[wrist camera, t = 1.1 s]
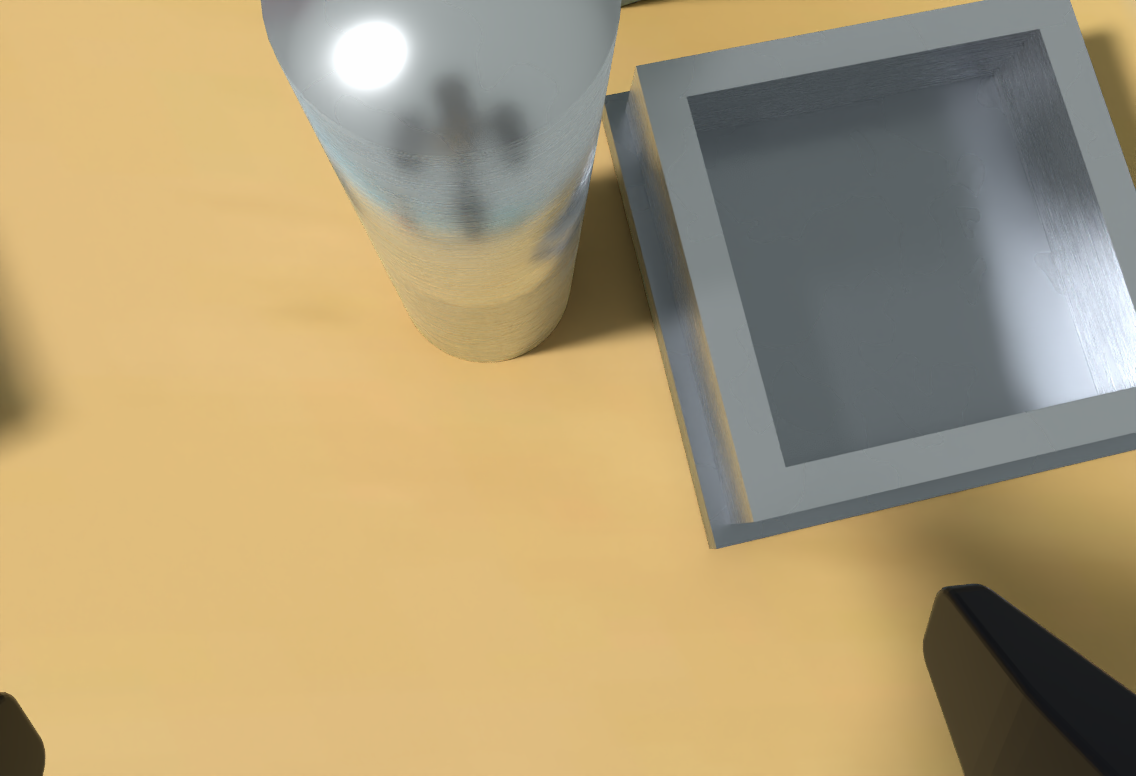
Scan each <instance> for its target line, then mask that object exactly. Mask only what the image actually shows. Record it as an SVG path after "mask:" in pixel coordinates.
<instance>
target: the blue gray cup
mask: <svg viewBox="0 0 1136 776" xmlns="http://www.w3.org/2000/svg"><path fill="white" fill-rule="evenodd" d="M637 1H641V0H621V6H624V5H627V4H631V3H634V2H637Z"/></svg>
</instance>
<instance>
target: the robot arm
mask: <svg viewBox="0 0 1136 776" xmlns="http://www.w3.org/2000/svg"><path fill="white" fill-rule="evenodd" d="M923 653H924V659H925V663H926V666H927V669H928V672H929V675H930V677H931V680H932V683H933V686H934V689H935V692H936V695H937V698H938V701H939V703H940V706H941V709H942V712H943V715H944V718H945V721H946V724H947V727H948V729H949V732H950V735H951V738H952V741H953V744H954V747H955V750H956V753H957V755H958V758H959V761H960V764H961V767H962V770H963V773H964V776H1136V694H1135V693H1133V692H1132V691H1131V690H1129V689H1128V688H1126V687H1125V686H1124V685H1122V684H1121V683H1120V682H1118V681H1117V680H1115V679H1114V678H1113V677H1111V676H1110V675H1109V674H1107V673H1106V672H1104V671H1103V670H1102V669H1100V668H1099V667H1097V666H1096V665H1095V664H1093V663H1092V662H1091V661H1089V660H1088V659H1086V658H1085V657H1084V656H1082V655H1081V654H1080V653H1078V652H1077V651H1075V650H1074V649H1073V648H1071V647H1070V646H1068V645H1067V644H1066V643H1064V642H1063V641H1062V640H1060V639H1059V638H1057V637H1056V636H1055V635H1053V634H1052V633H1051V632H1049V631H1048V630H1046V629H1045V628H1044V627H1042V626H1041V625H1039V624H1038V623H1037V622H1035V621H1034V620H1033V619H1031V618H1030V617H1028V616H1027V615H1026V614H1024V613H1023V612H1022V611H1020V610H1019V609H1017V608H1016V607H1015V606H1013V605H1012V604H1010V603H1009V602H1008V601H1006V600H1005V599H1004V598H1002V597H1001V596H999V595H998V594H997V593H995V592H994V591H993V590H991V589H989V588H988V587H986V586H983V585H981V584H966V585H957V586H948V587H944V588H942V589H941V590H940V591H939V592H938V593H937V595H936V598H935V601H934V604H933V608H932V611H931V615H930V618H929V621H928V625H927V628H926V632H925V635H924V640H923ZM44 767H45V749H44V745H43V741H42V739H41V737H40V736H39V734H38V733H37V731H36V730H35V728H34V727H33V725H32V724H31V722H30V720H29V719H28V717H27V716H26V714H25V713H24V711H23V710H22V708H21V707H20V705H19V703H18V702H17V700H16V699H15V698H14V697H13V696H12V695H10V694H8V693H6V692H0V776H43V772H44Z"/></svg>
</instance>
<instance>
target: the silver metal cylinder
mask: <svg viewBox="0 0 1136 776" xmlns="http://www.w3.org/2000/svg"><path fill="white" fill-rule="evenodd" d="M261 6H262V14H263V20H264V24H265V27H266V31H267V35H268V39H269V41H270V43H271V46H272V48H273V50H274V53H275V55H276V57H277V60H278V62H279V64H280V65H281V67H282V69H283V71H284V73H285V75H286V77H287V79H288V81H289V83H290V85H291V87H292V89H293V91H294V93H295V95H296V97H297V99H298V100H299V102H300V104H301V106H302V108H303V110H304V112H305V114H306V116H307V118H308V120H309V122H310V124H311V126H312V128H313V130H314V132H315V133H316V135H317V137H318V139H319V141H320V143H321V145H322V147H323V149H324V151H325V153H326V155H327V157H328V159H329V161H330V163H331V165H332V166H333V168H334V170H335V172H336V174H337V176H338V178H339V180H340V182H341V184H342V186H343V188H344V190H345V192H346V194H347V196H348V198H349V200H350V201H351V203H352V205H353V207H354V209H355V211H356V213H357V215H358V217H359V219H360V221H361V223H362V225H363V227H364V229H365V231H366V233H367V234H368V236H369V238H370V240H371V242H372V244H373V246H374V248H375V250H376V252H377V254H378V256H379V258H380V260H381V262H382V264H383V266H384V267H385V269H386V271H387V273H388V275H389V277H390V279H391V281H392V283H393V285H394V287H395V289H396V291H397V293H398V295H399V297H400V299H401V301H402V302H403V304H404V306H405V308H406V310H407V312H408V314H409V316H410V318H411V320H412V321H413V323H414V325H415V326H416V328H417V329H418V330H419V331H420V333H421V334H422V335H423V336H424V337H425V338H426V339H427V340H428V341H429V342H430V343H432V344H433V345H434V346H436V347H437V348H438V349H440V350H442V351H444V352H445V353H447V354H449V355H452V356H454V357H457V358H459V359H463V360H468V361H473V362H482V363H483V362H499V361H505V360H508V359H512V358H515V357H518V356H520V355H522V354H525V353H527V352H528V351H530V350H532V349H533V348H535V347H536V346H538V345H539V344H540V343H541V342H543V341H544V340H545V339H546V338H547V337H548V336H549V335H550V334H551V333H552V331H553V330H554V329H555V327H556V326H557V325H558V323H559V321H560V319H561V318H562V316H563V314H564V311H565V308H566V306H567V302H568V298H569V294H570V289H571V283H572V278H573V272H574V267H575V261H576V256H577V250H578V245H579V239H580V234H581V228H582V223H583V217H584V212H585V206H586V201H587V195H588V190H589V184H590V179H591V173H592V168H593V162H594V157H595V151H596V146H597V140H598V135H599V129H600V124H601V118H602V113H603V107H604V102H605V96H606V91H607V85H608V80H609V74H610V69H611V63H612V57H613V52H614V46H615V41H616V35H617V30H618V24H619V19H620V10H621V0H261Z"/></svg>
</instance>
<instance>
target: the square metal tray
mask: <svg viewBox="0 0 1136 776" xmlns="http://www.w3.org/2000/svg"><path fill="white" fill-rule="evenodd" d="M602 120H603V124H604V128H605V132H606V136H607V140H608V144H609V148H610V152H611V156H612V160H613V164H614V168H615V172H616V176H617V180H618V184H619V188H620V192H621V196H622V200H623V204H624V208H625V212H626V216H627V220H628V224H629V228H630V232H631V236H632V240H633V244H634V248H635V252H636V256H637V260H638V264H639V268H640V272H641V276H642V280H643V284H644V288H645V292H646V296H647V300H648V304H649V308H650V312H651V316H652V320H653V324H654V328H655V332H656V336H657V340H658V344H659V348H660V352H661V356H662V360H663V364H664V368H665V372H666V376H667V380H668V384H669V388H670V392H671V396H672V400H673V404H674V408H675V412H676V416H677V420H678V424H679V428H680V432H681V436H682V440H683V444H684V448H685V452H686V456H687V460H688V464H689V468H690V472H691V476H692V480H693V484H694V488H695V492H696V496H697V500H698V504H699V508H700V512H701V516H702V520H703V524H704V528H705V532H706V536H707V540H708V544H709V548H710V549H718V548H722V547H727V546H731V545H735V544H739V543H743V542H748V541H752V540H756V539H760V538H765V537H769V536H773V535H777V534H781V533H786V532H790V531H794V530H798V529H802V528H807V527H811V526H815V525H819V524H824V523H828V522H832V521H836V520H840V519H845V518H849V517H853V516H857V515H861V514H866V513H870V512H874V511H878V510H883V509H887V508H891V507H895V506H899V505H904V504H908V503H912V502H916V501H920V500H925V499H929V498H933V497H937V496H942V495H946V494H950V493H954V492H958V491H963V490H967V489H971V488H975V487H979V486H984V485H988V484H992V483H996V482H1001V481H1005V480H1009V479H1013V478H1017V477H1022V476H1026V475H1030V474H1034V473H1038V472H1043V471H1047V470H1051V469H1055V468H1060V467H1064V466H1068V465H1072V464H1076V463H1081V462H1085V461H1089V460H1093V459H1097V458H1102V457H1106V456H1110V455H1114V454H1119V453H1123V452H1127V451H1131V450H1135V449H1136V190H1135V187H1134V184H1133V181H1132V178H1131V176H1130V173H1129V170H1128V167H1127V164H1126V161H1125V158H1124V155H1123V152H1122V150H1121V147H1120V144H1119V141H1118V138H1117V135H1116V132H1115V129H1114V126H1113V124H1112V121H1111V118H1110V115H1109V112H1108V109H1107V106H1106V103H1105V100H1104V98H1103V95H1102V92H1101V89H1100V86H1099V83H1098V80H1097V77H1096V74H1095V72H1094V69H1093V66H1092V63H1091V60H1090V57H1089V54H1088V51H1087V48H1086V46H1085V43H1084V40H1083V37H1082V34H1081V31H1080V28H1079V25H1078V22H1077V20H1076V17H1075V14H1074V11H1073V8H1072V5H1071V2H1070V0H984V1H979V2H973V3H968V4H963V5H957V6H952V7H947V8H942V9H936V10H931V11H926V12H920V13H915V14H910V15H904V16H899V17H894V18H888V19H883V20H878V21H873V22H867V23H862V24H857V25H851V26H846V27H841V28H835V29H830V30H825V31H820V32H814V33H809V34H804V35H798V36H793V37H788V38H782V39H777V40H772V41H767V42H761V43H756V44H751V45H745V46H740V47H735V48H729V49H724V50H719V51H714V52H708V53H703V54H698V55H692V56H687V57H682V58H676V59H671V60H666V61H661V62H655V63H650V64H645V65H639V66H636V68H635V72H634V76H633V80H632V85H631V89H630V91H628V92H623V93H617V94H612V95H607V96H605V102H604V107H603V113H602Z"/></svg>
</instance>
